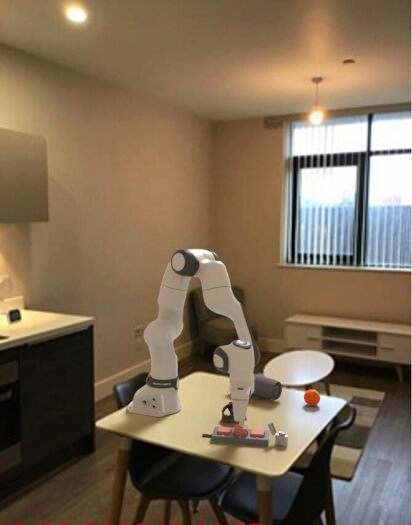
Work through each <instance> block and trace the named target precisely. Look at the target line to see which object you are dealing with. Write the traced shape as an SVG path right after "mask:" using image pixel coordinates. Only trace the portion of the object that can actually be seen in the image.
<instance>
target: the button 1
mask: <svg viewBox="0 0 412 525" xmlns="http://www.w3.org/2000/svg"><path fill="white" fill-rule="evenodd" d="M218 427H219V428H218V434H224V435H231V428H232V427H228V428H225V427H226V426H218Z"/></svg>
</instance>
